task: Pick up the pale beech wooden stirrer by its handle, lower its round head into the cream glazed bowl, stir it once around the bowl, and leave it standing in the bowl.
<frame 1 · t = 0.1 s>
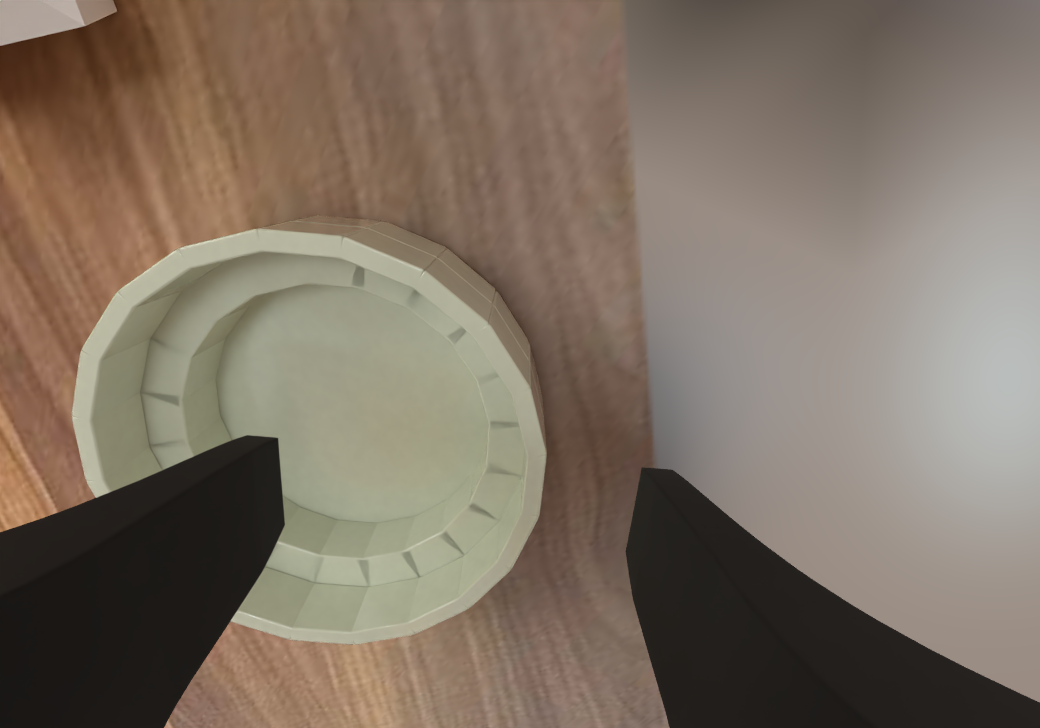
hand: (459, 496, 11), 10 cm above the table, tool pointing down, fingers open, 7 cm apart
bowl: (360, 401, 21), on the table
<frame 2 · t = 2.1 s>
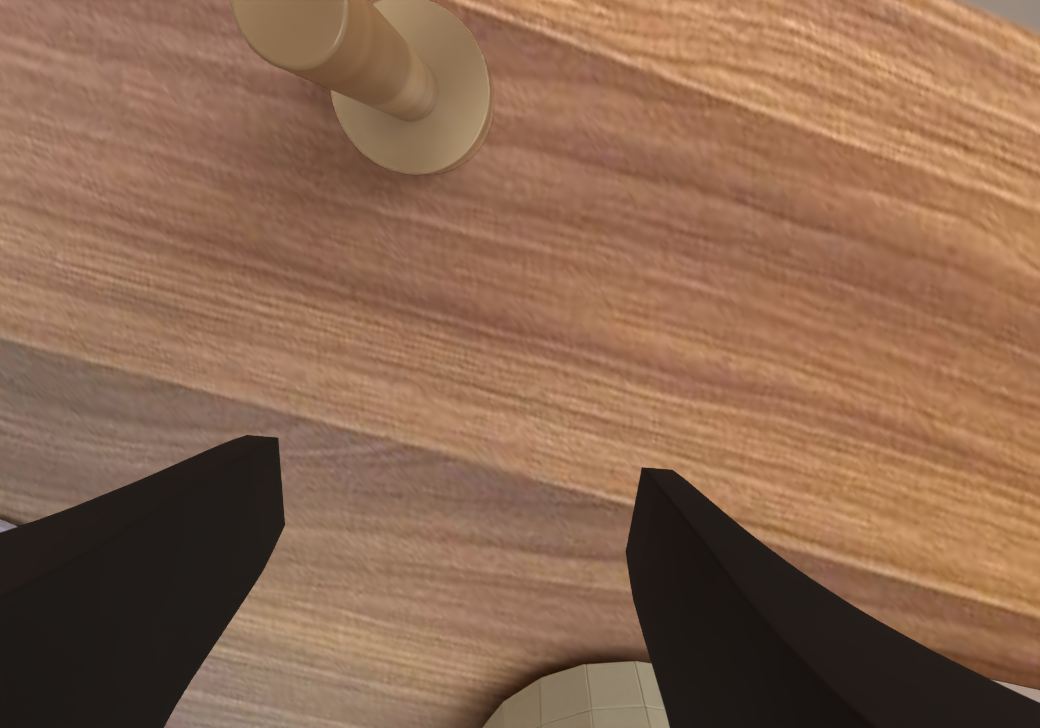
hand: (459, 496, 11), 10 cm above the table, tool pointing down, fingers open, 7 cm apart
low-poly chess knight: (985, 727, 26), on the table
stirrer: (424, 100, 17), on the table
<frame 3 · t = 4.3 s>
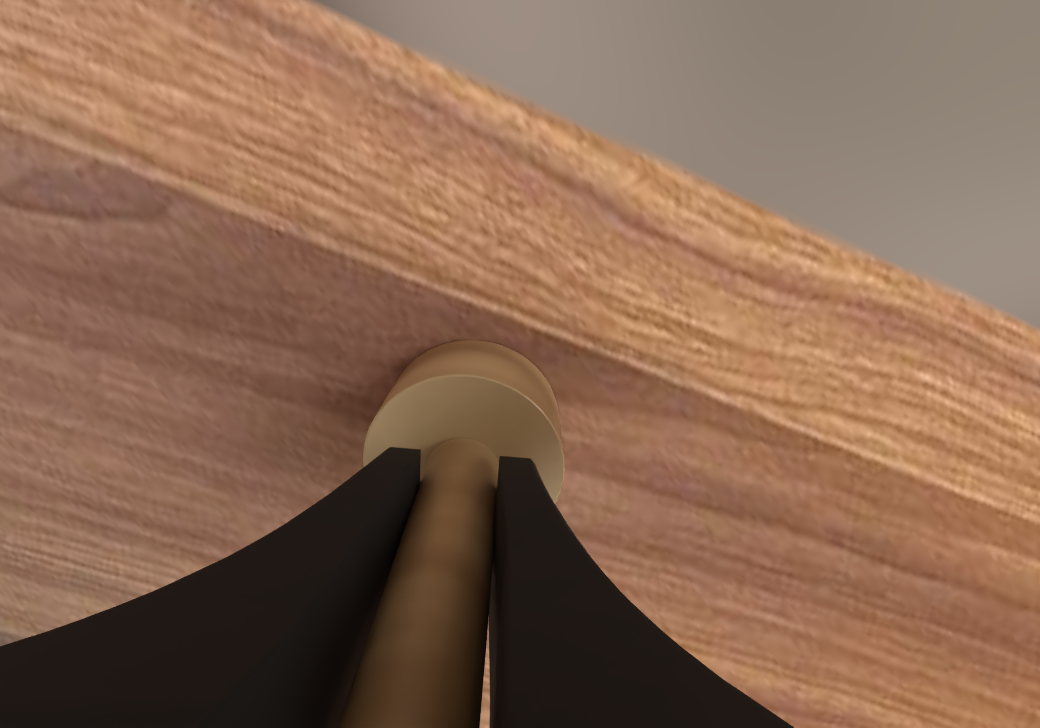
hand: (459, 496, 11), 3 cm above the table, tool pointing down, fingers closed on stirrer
stirrer: (473, 420, 14), on the table, touching gripper
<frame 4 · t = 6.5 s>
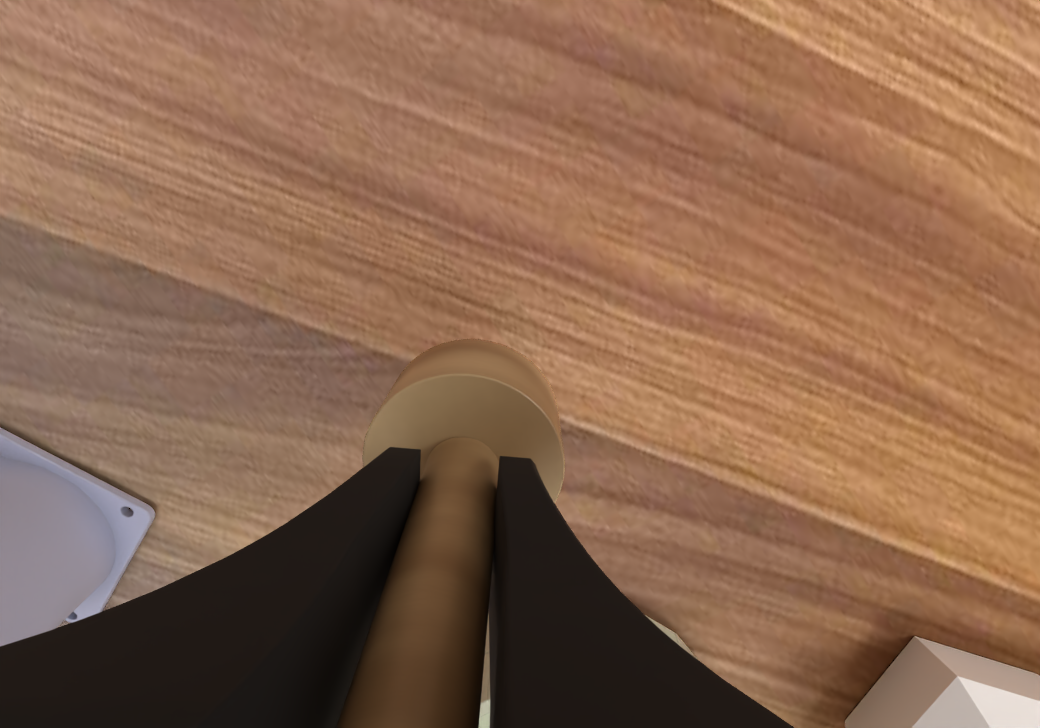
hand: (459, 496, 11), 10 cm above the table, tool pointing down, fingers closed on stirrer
bowl: (562, 698, 27), on the table
low-poly chess knight: (930, 694, 27), on the table
stirrer: (473, 419, 14), point 7 cm above the table, touching gripper
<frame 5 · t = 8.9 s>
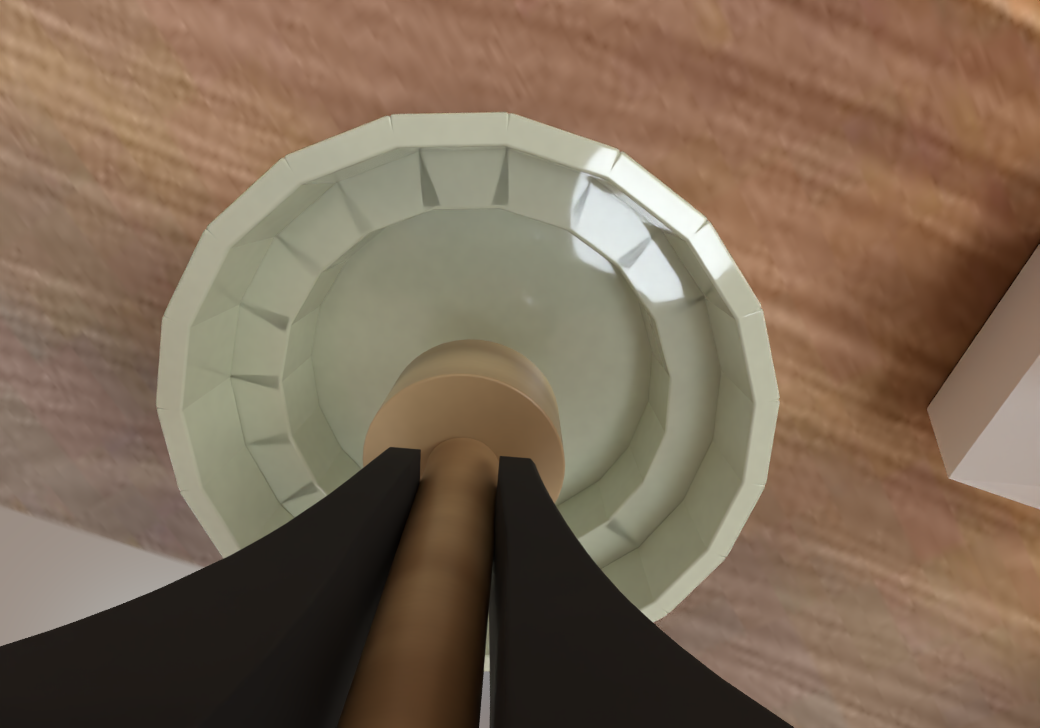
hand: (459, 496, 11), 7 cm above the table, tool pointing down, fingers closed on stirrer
bowl: (483, 371, 17), on the table
stirrer: (473, 419, 14), point 4 cm above the table, touching gripper
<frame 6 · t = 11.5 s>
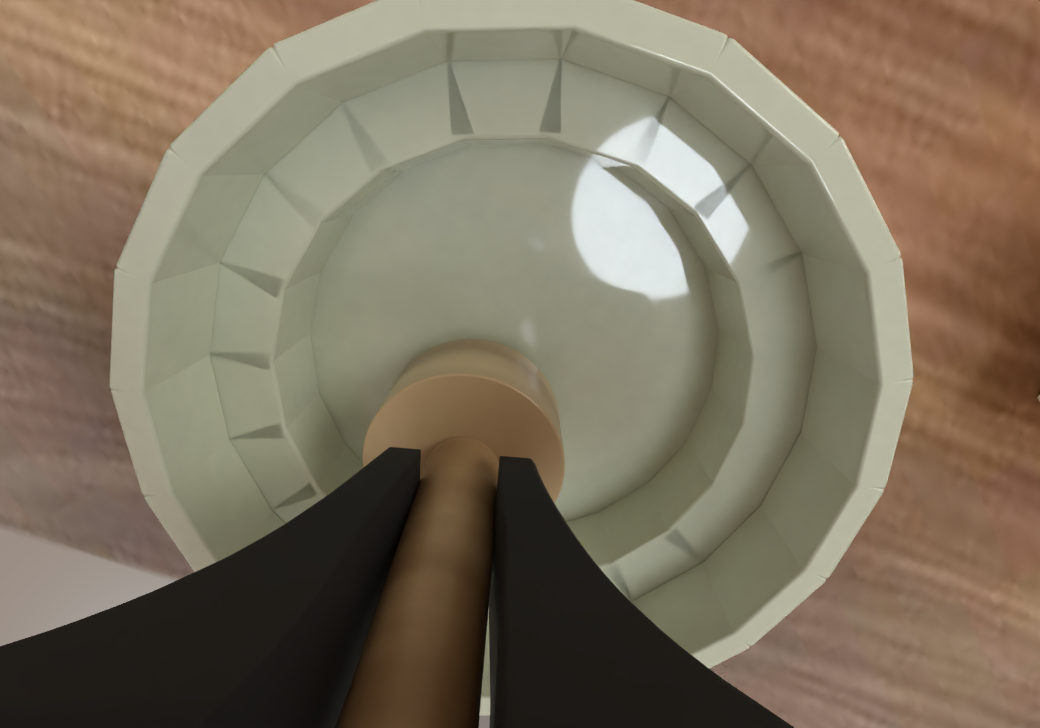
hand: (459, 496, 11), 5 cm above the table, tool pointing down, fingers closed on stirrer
bowl: (514, 352, 14), on the table
stirrer: (473, 419, 14), point 1 cm above the table, touching gripper
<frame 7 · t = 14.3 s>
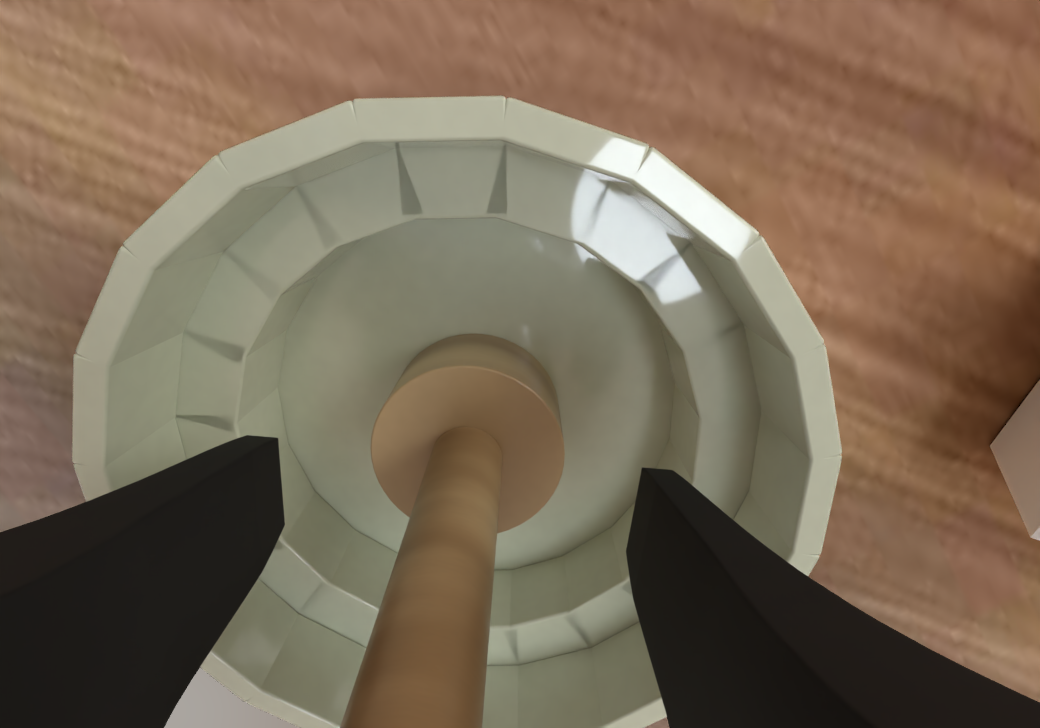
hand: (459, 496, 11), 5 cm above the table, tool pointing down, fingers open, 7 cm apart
bowl: (478, 403, 15), on the table
stirrer: (476, 411, 14), point 1 cm above the table, touching bowl
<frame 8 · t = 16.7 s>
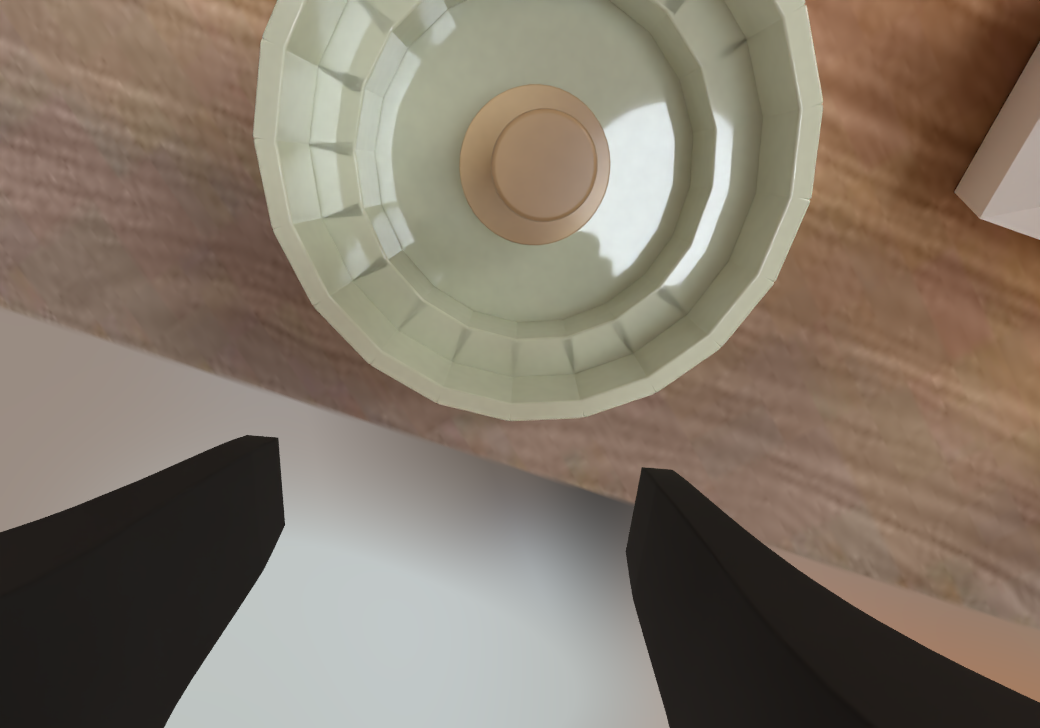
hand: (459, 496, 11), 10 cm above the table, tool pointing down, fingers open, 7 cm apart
bowl: (533, 169, 18), on the table
stirrer: (533, 168, 18), point 1 cm above the table, touching bowl
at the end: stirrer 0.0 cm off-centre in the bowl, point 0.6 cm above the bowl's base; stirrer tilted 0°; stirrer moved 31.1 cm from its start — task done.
